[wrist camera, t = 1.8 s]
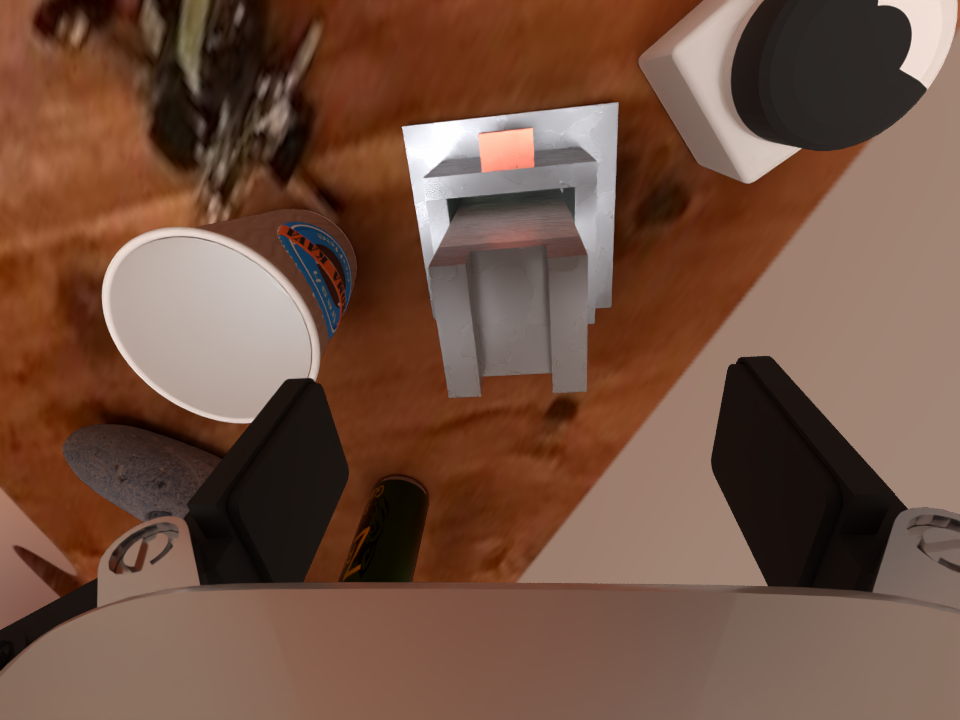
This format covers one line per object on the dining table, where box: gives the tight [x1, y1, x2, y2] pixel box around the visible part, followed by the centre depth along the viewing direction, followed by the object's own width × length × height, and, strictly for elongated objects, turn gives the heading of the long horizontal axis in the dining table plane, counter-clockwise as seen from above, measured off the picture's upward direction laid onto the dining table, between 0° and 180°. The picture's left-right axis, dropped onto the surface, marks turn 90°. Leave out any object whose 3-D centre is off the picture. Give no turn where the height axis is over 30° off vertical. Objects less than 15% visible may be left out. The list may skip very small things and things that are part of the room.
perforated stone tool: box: [63, 424, 222, 522], centre depth 40 cm, size 15×5×7 cm, turn 58°
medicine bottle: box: [638, 0, 958, 183], centre depth 21 cm, size 7×7×12 cm
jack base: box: [402, 102, 618, 324], centre depth 27 cm, size 12×12×8 cm
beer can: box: [338, 476, 429, 582], centre depth 38 cm, size 5×5×12 cm
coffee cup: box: [102, 209, 357, 423], centre depth 28 cm, size 10×10×12 cm
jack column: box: [428, 188, 588, 398], centre depth 23 cm, size 5×5×15 cm
